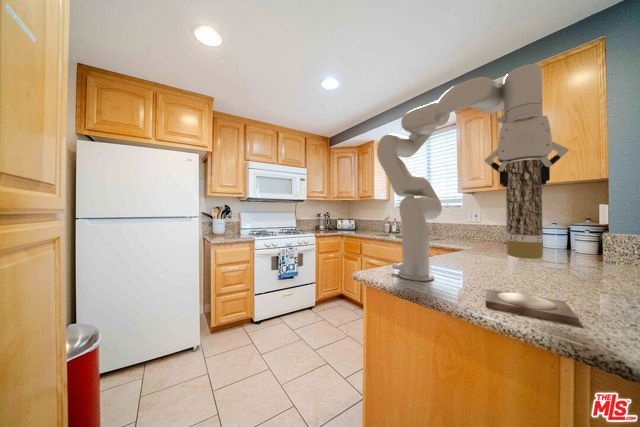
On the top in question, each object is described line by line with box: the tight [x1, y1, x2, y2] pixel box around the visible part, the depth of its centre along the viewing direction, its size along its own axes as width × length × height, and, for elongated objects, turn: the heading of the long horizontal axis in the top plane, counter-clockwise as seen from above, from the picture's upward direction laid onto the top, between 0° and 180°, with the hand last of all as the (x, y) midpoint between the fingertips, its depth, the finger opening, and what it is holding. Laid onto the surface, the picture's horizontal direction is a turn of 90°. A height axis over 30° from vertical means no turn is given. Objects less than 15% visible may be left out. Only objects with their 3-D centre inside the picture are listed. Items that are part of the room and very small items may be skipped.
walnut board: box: [485, 288, 580, 326], centre depth 57 cm, size 16×12×2 cm
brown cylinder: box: [505, 157, 544, 260], centre depth 57 cm, size 7×7×25 cm
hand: (523, 184), depth 57 cm, fingers closed on brown cylinder, 6 cm apart
